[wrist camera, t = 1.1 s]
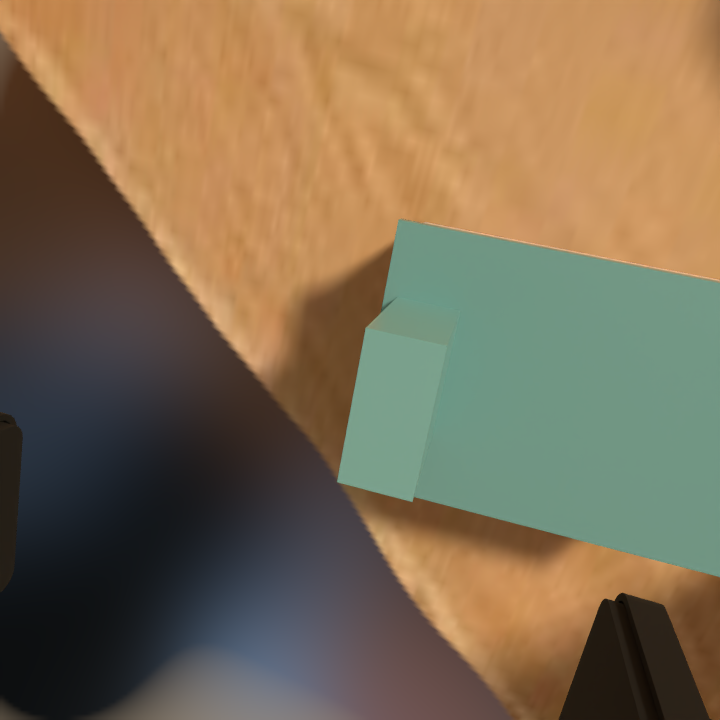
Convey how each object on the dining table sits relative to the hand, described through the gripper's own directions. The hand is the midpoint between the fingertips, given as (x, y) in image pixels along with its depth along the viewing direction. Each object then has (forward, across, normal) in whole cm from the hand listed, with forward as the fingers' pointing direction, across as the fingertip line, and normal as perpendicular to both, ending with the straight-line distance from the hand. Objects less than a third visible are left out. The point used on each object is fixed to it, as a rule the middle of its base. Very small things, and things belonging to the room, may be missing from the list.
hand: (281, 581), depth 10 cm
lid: (+17, -6, 0) cm, 18 cm away
